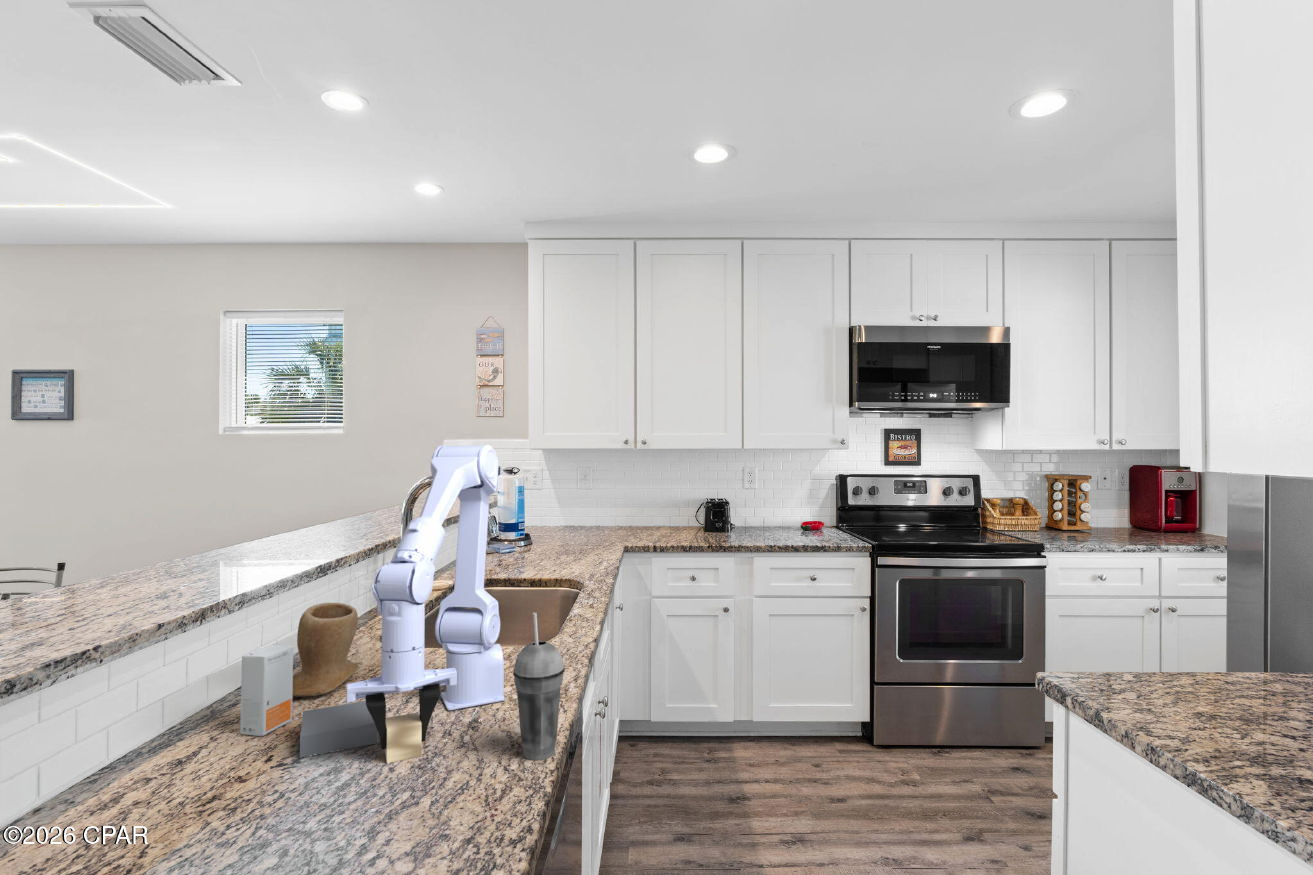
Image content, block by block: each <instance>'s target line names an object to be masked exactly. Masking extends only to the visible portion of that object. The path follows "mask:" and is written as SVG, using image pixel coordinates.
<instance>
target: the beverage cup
mask: <svg viewBox="0 0 1313 875" xmlns="http://www.w3.org/2000/svg"><path fill="white" fill-rule="evenodd" d="M537 617H538V615H537V612H532V618H533V635H534V641H533V642H531V643H527V645H525V646H524V647H523V648H522V649H521V650H520V651H519V653H518V655H517V656H516V659H515V663H514V668H513V672H512V675H513V677H514V678H513V680H514V685H515V688H516V693H517V705H518V716H519V717H518V718H519V730H520V741H521V746H522V749H521V750H522V756H523V757H524V758H525V759H526V760H530V761H541V760H547V759H549V758H551V757H553V756H554V755H555V754H556V745H557V738H558V737H557V736H558V728H559V726H558V725H559V714H560V713H559V711H560V703H561V702H560V700H561V687H562V684H563V680H564V673H565V665H564V659H563V657H562V656H563V655H562V654H561V652H560V651H559V649H558V648H557V647H556V646H555V645H553V644H552V643H551V642H548V641H545V640H539V632H538V618H537Z"/></svg>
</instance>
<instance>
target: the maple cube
mask: <svg viewBox="0 0 1313 875" xmlns="http://www.w3.org/2000/svg"><path fill="white" fill-rule="evenodd" d="M419 714H420V713H419V712H413V713H408V714H401V715H396V716H389V717H386V724H385V727H386V740H387V741H386V749H384V755H385V759H386V764H391V763H395V762H396V763H397V762H400V761H404V760H405V761H407V760H409V759H414V758H419V757H422V756H423V755H422V752H423V751H422V749H423V748H422V745H423V744H422V743H423V742H422V723H421V720H420V717H419Z"/></svg>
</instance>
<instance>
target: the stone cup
mask: <svg viewBox="0 0 1313 875" xmlns="http://www.w3.org/2000/svg"><path fill="white" fill-rule="evenodd" d="M357 611H358V610H357V609H356V608H355V607H354V606H351V605H349V604H345V603H341V602H323V603H317V604H314V605H312V606H309V607H308V608H307V609H306V610H304V612H303V613H302V615H301V616H300V619H299V622H298V629H297V633H296V634H297V636H296V637H297V638H296V639H297V640H296V643H297V645H296V646H297V650H298V654H299V658H300V663H301V669H300V671H299V672H296V673H295V674H293V690H292V697H301V698H302V697H315V696H323V695H325V694H328V693H331V692H333V691H334V690H336V689H337V688H338V687H340V686H341V685H343V684H344V683H345V682H346V681H347V680H348V679H349V678H351V677H352V676H353V675H354V674H355V673H356V672H357V671H358V670H359V668H360V666H359V665H358V664H357V663H356V662H354V661H352V660H350V659H347V658H348V655H349V653H350V649H351V646H352V643H353V640H354V638H355V635H356V633H357V630H358V629H357V628H358V619H359V618H358V617H359V616H358V612H357Z"/></svg>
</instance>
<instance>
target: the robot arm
mask: <svg viewBox="0 0 1313 875" xmlns="http://www.w3.org/2000/svg"><path fill="white" fill-rule="evenodd" d="M430 472H431V477H432V481H431V483H430V486H429V490H428V492H427V496H426V498H425V501H424V505H423V507H422V509H421V513H420V516H419V517H417V518H414V519H411V520H410V521H409V522H408V523H407V526H406V528H405V530H404V533H403V534H402V536H401V539H400V541H399V543H398V545H397V548H396V550H395V552H394V554H393V556H392V557H391V560H390V562H387V563H386V564H384V565H382V566H380V568H378V570H377V572H376V574H375V577H374V582H373V584H372V585H371V586H372V595H373V598H374V599H375V600H376V603H377V613H378V615H379V616H381V675H379V676H376V677H373V678H369V679H365V680H362V681H361V680H360V681H356V682H352V683H351V682H350V683H346V696H345V697H346V703H354V702H355V701H356V700H361V699H365V700H364V701H366V706H367V709H368V711H369V713H370V715H371V716H372V718H373V720H374V723H375V725H376V728H377V731H378V737H379V738H378V739H379V746H380V750H381V751H382V750H384V751H385V749H386V741H387V740H386V727H385V724H386V718H387V704H386V696H385V695H391V694H398V693H403V692H409V691H416V690H418V696H419V697H418V699H419V700H418V701H419V706H418V707H419V713H418V714H419V717H420V720H421V723H422V743H423V742H426V738H427V737H426V736H427V732H428V728H429V725H430V721H431V718H432V715H433V713H434V710H435V708H436V706H437V704H438V702H439V700H440V698H441V699H442V701H443V703H444V705H445V708H446V710H447V711H455V710H460V709H464V708H470V707H475V706H482V705H487V704H493V703H499V702H503V701H505V696H504V694H505V693H504V692H505V691H504V690H505V688H504V682H505V681H504V680H505V679H504V677H505V675H504V673H505V672H504V671H505V670H504V665H505V664H504V653H503V649H502V648H503V647H502V645H501V644H500V643H496V642H497V640H498V638H499V636H500V633H501V632H500V631H501V618H500V611H499V601H498V600H497V598H495V597H493V596H492V595H491V594H490V593H489V592H487V590H486V589H485V577H486V576H485V575H486V561H487V558H486V557H487V543H488V542H487V541H488V525H489V510H490V509H489V508H490V496H491V495H493V494H495V493H496V492H497V489H498V488H497V486H498V480H499V479H498V478H499V458H498V456H497V452H496V451H495V449H494V448H493V447H492V446H491V444H483V445H445V444H444V445H442V444H441V445H438V446H437V447H436V448H435V450H434V451H433V453H432V456H431V461H430ZM457 498H458V499H459V516H458V527H457V528H458V529H457V542H456V544H457V545H456V558H455V570H454V571H455V572H454V587H453V588H454V589H453V591H452V592H451V593H450V594H448V595H447V596H446V597H444V598H443V599H442V600H441V601H440V602H439V609H438V614H437V617H436V620H435V623H434V636H435V638H436V640H437V643H439V645H441V646H442V649H441V650H442V651H445V652H446V653H445V660H446V662H445V663H446V664H445V667H446V668H439V669H437V668H436V669H435V668H433V669H425V632H426V631H425V623H426V622H425V620H426V619H425V618H426V616H425V614H426V613H425V611H426V610H425V609H426V608H425V607H426V606H425V605H426V604H425V603H426V601H427V600H428V598H429V597H430V595H431V593H432V591H433V588H434V581H435V580H434V578H435V577H434V576H435V572H436V567H435V561H436V559H437V556H438V554H439V551H440V549H441V546H442V545H443V541H444V539H445V537H446V531H445V529H444V527H443V526H442V525H444V524H443V523H444V521H445V520H446V518H447V516H448V514H449V513H450V510H451V509H452V507H453V505H454V503H455V501H456V500H457ZM474 608H475V609H474ZM441 686H445V691H441Z"/></svg>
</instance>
